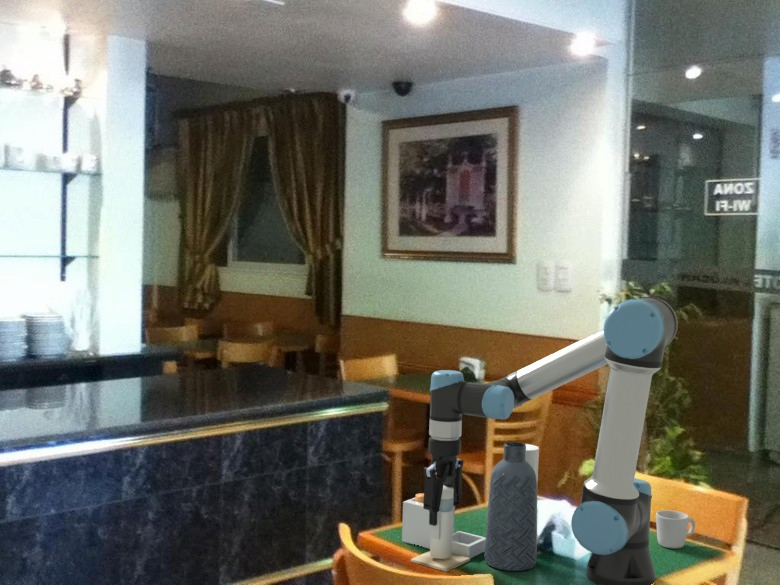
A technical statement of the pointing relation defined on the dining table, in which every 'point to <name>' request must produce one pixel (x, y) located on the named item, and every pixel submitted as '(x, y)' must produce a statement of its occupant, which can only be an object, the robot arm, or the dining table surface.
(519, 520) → the vase
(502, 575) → the dining table surface
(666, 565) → the dining table surface
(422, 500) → the brown egg
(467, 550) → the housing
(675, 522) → the cup
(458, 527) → the dining table surface
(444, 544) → the cylinder
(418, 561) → the coaster
